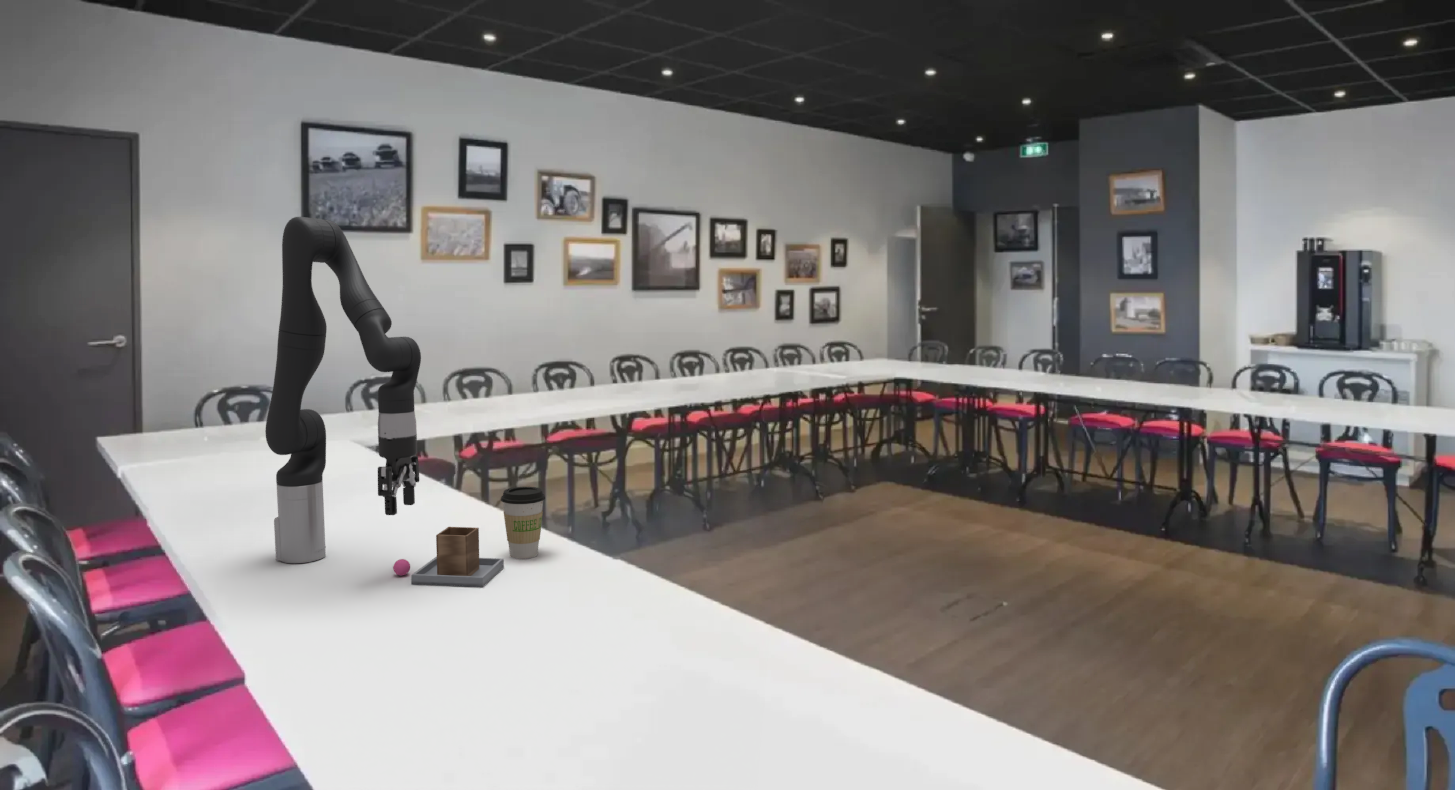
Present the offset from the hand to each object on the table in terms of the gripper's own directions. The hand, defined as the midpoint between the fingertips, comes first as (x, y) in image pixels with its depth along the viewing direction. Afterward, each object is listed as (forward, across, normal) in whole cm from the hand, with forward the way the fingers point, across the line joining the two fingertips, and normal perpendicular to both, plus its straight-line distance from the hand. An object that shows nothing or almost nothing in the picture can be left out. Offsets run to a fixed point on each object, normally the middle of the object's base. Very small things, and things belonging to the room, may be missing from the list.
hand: (400, 509), depth 185 cm
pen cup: (+14, -1, +12) cm, 18 cm away
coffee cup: (+14, -17, +21) cm, 31 cm away
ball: (+12, 0, 0) cm, 13 cm away
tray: (+14, -1, +12) cm, 18 cm away
